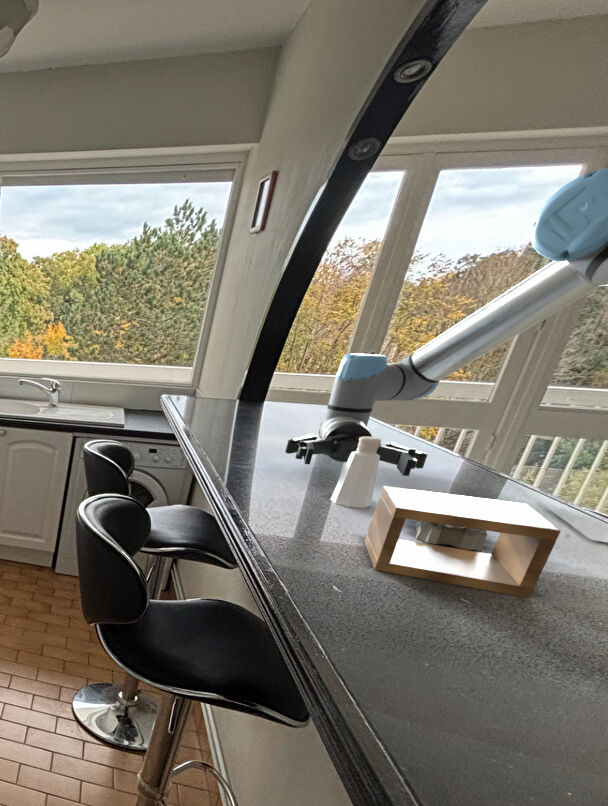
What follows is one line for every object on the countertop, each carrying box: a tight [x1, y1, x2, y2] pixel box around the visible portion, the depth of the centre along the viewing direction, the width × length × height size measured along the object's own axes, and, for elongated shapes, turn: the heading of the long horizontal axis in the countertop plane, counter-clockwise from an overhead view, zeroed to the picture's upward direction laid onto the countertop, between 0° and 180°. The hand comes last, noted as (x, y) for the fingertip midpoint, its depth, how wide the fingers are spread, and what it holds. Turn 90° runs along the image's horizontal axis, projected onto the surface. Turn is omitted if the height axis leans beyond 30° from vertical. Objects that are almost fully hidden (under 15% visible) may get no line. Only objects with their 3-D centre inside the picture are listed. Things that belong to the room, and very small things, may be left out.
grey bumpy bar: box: [415, 520, 488, 552], centre depth 83 cm, size 11×8×4 cm
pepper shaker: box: [330, 436, 382, 509], centre depth 96 cm, size 5×5×11 cm
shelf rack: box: [364, 485, 562, 599], centre depth 73 cm, size 14×11×8 cm
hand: (357, 462), depth 100 cm, fingers open, 13 cm apart
